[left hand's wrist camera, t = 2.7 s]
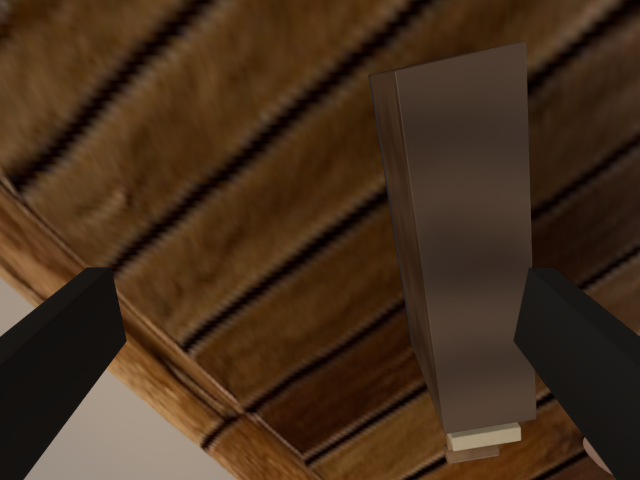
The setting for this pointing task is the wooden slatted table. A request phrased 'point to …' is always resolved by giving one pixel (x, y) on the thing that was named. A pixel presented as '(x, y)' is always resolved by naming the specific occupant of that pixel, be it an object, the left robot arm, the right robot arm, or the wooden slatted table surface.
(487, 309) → the cabinet
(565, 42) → the wooden slatted table surface
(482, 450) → the drawer
